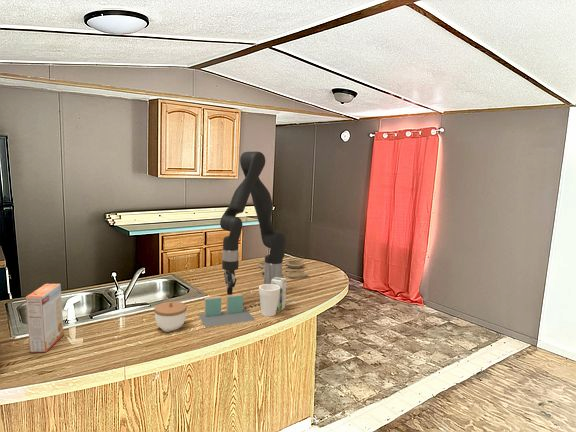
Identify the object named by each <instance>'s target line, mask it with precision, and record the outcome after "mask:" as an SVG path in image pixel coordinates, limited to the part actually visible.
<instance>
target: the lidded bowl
mask: <svg viewBox="0 0 576 432" xmlns="http://www.w3.org/2000/svg"><path fill="white" fill-rule="evenodd" d="M187 308H188V306H187V304H186V303H184V302H181V301H165V302H161V303H158V304H156V306H155V307H154V308H153V309H154V317H155V318H154V319H155V322H156V325H157V327H158V328H160V329H161V331H162V332H165V333H170V332H171V331H177V330H178V329H180V328H182V326H183V325H184V323H185V321H186V317H187Z"/></svg>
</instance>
